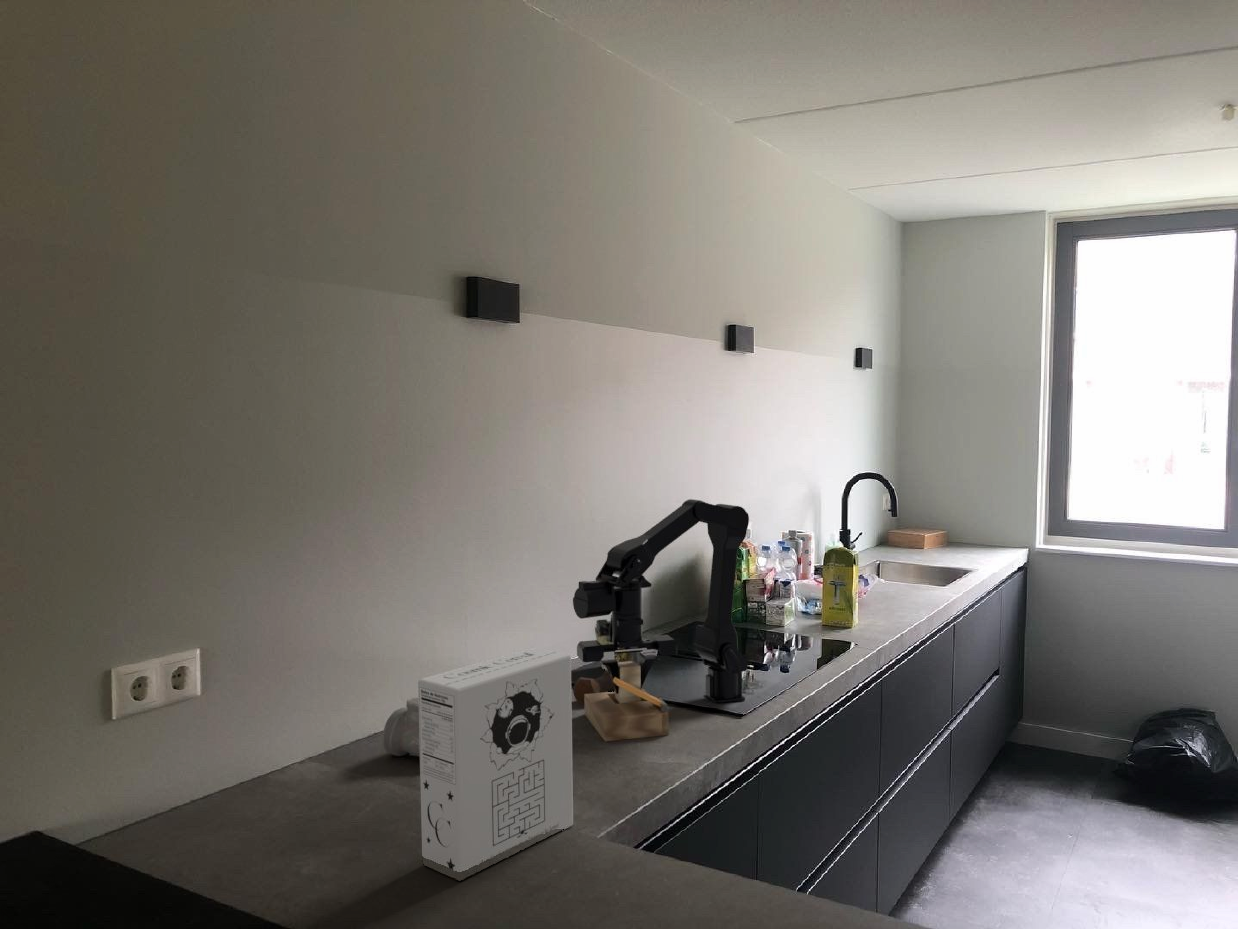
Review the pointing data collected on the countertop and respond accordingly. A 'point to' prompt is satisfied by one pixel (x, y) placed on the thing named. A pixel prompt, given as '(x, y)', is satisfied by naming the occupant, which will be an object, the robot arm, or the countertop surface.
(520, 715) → the cereal box
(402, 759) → the countertop surface
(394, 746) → the pipe fitting
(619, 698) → the peg
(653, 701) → the gate
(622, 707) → the block
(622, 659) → the ceramic cup
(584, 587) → the robot arm
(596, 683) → the bolt
